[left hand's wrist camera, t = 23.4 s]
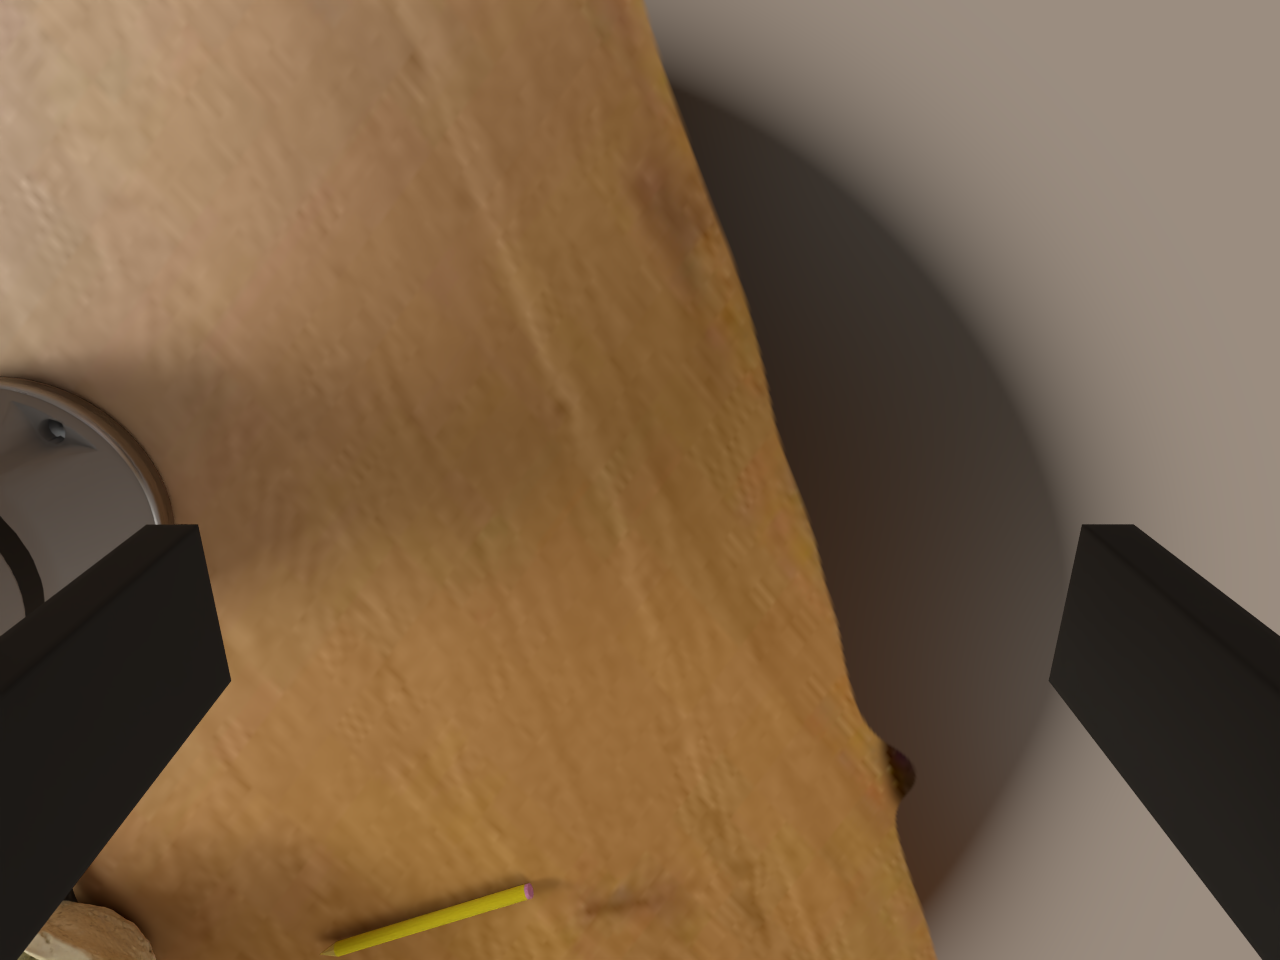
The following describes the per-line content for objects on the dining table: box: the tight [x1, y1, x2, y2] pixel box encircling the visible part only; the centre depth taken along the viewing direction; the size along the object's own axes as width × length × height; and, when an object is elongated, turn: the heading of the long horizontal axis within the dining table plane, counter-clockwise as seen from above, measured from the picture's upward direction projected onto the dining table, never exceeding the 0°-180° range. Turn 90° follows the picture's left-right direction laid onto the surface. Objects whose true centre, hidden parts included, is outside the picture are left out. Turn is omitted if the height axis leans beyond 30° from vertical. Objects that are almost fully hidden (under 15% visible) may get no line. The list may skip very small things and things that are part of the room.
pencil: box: [319, 883, 533, 957], centre depth 59 cm, size 16×1×1 cm, turn 112°
